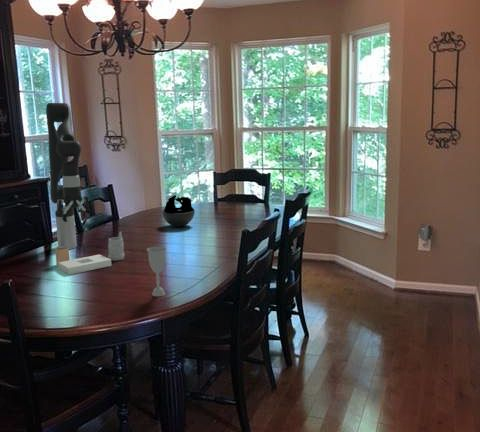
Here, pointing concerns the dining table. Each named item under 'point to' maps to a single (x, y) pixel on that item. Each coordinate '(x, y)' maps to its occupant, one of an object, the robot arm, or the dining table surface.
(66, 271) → the socket plate
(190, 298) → the dining table surface
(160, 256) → the chalice
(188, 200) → the coal bowl
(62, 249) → the plug
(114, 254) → the mug
